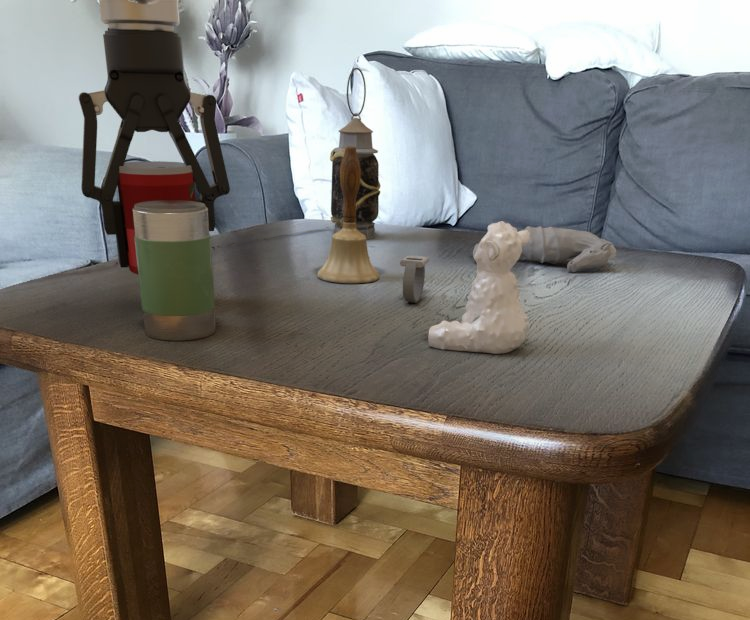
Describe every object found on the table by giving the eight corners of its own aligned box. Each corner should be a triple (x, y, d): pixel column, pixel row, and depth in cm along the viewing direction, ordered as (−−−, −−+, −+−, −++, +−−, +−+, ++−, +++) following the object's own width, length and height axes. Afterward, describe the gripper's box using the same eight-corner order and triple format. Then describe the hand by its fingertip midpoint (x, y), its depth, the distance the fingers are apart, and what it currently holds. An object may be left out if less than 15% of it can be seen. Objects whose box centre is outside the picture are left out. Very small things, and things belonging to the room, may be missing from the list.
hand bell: (391, 276, 109) (396, 147, 102) (354, 287, 103) (355, 150, 96) (343, 268, 114) (343, 143, 106) (304, 277, 108) (302, 145, 100)
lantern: (344, 230, 141) (345, 67, 130) (387, 235, 139) (392, 68, 127) (321, 238, 134) (321, 66, 123) (366, 243, 131) (370, 67, 120)
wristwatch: (407, 294, 100) (409, 252, 98) (429, 296, 100) (431, 254, 98) (395, 306, 95) (396, 262, 93) (418, 308, 94) (420, 264, 92)
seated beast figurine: (475, 328, 87) (485, 210, 82) (547, 344, 83) (562, 220, 77) (422, 346, 81) (429, 219, 75) (497, 365, 76) (510, 231, 71)
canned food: (211, 272, 91) (204, 166, 86) (141, 280, 87) (130, 169, 82) (184, 260, 97) (176, 160, 92) (118, 267, 93) (105, 162, 88)
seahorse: (479, 264, 113) (624, 245, 112) (467, 222, 120) (603, 204, 120) (479, 296, 116) (620, 278, 116) (468, 253, 124) (600, 236, 124)
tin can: (129, 331, 83) (115, 204, 77) (184, 318, 88) (174, 197, 82) (176, 345, 79) (164, 212, 73) (231, 330, 84) (224, 205, 79)
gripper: (28, 22, 75) (65, 274, 85) (253, 31, 81) (262, 265, 92) (30, 26, 81) (64, 260, 91) (238, 34, 87) (249, 253, 98)
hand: (163, 263), depth 91 cm, fingers closed on canned food, 8 cm apart
